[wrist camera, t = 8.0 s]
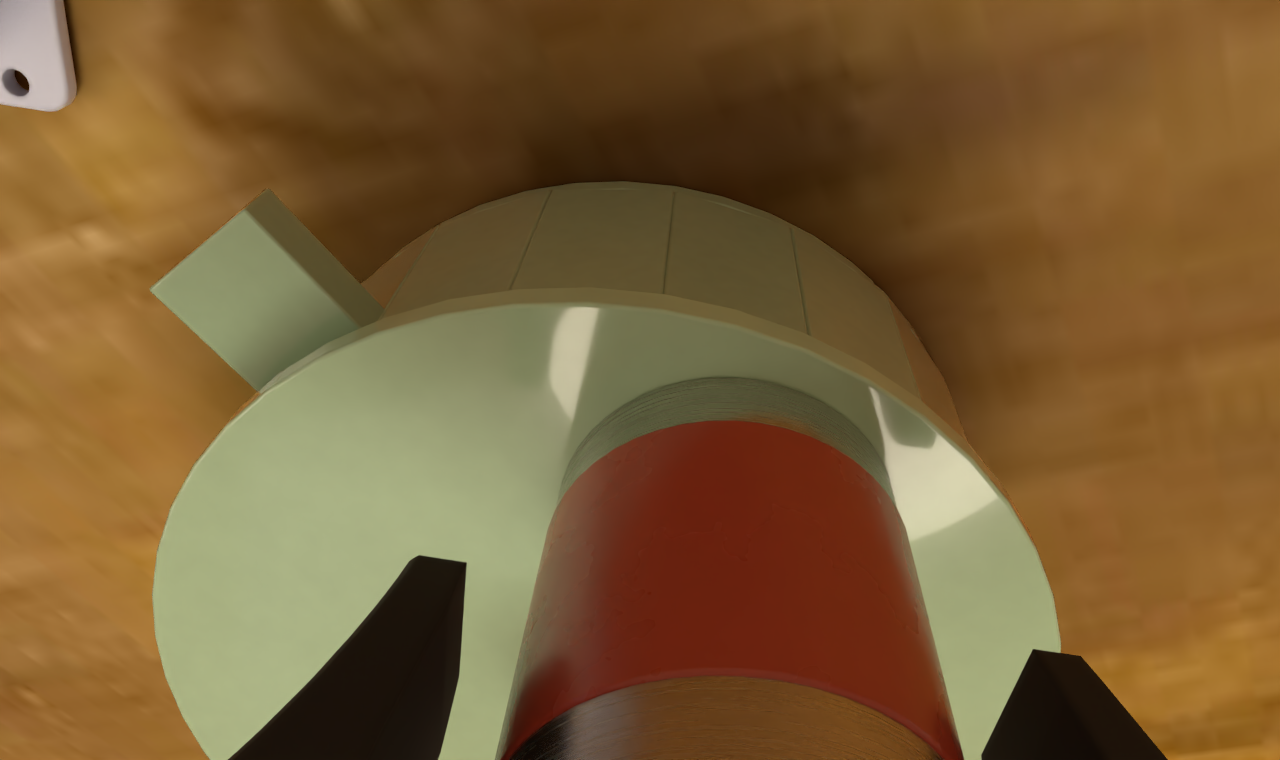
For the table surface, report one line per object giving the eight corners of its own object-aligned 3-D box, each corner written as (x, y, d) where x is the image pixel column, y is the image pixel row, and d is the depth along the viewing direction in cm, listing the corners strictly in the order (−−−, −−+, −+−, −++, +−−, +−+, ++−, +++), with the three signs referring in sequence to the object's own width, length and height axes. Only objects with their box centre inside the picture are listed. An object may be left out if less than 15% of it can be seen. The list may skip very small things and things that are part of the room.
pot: (632, 826, 31) (615, 1034, 26) (83, 339, 23) (-99, 498, 18) (1117, 623, 25) (1220, 837, 20) (612, -110, 17) (568, -66, 12)
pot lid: (549, 975, 26) (520, 1180, 22) (8, 566, 19) (-163, 754, 16) (1189, 742, 20) (1301, 969, 16) (704, 46, 13) (699, 147, 10)
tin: (541, 617, 17) (449, 1051, 11) (574, 346, 15) (473, 735, 9) (850, 663, 18) (919, 1119, 12) (941, 403, 15) (1096, 829, 9)
